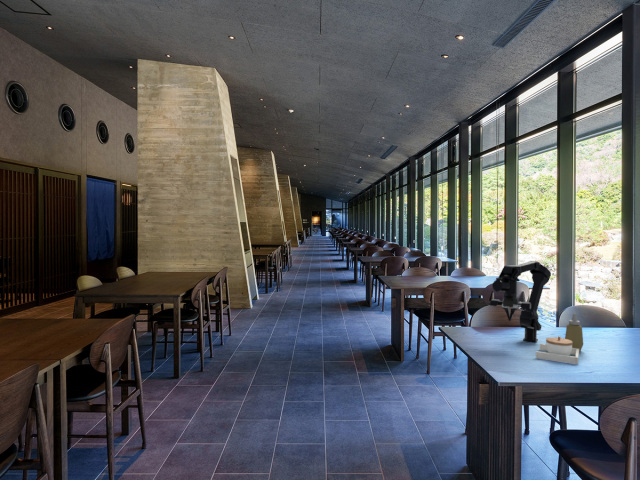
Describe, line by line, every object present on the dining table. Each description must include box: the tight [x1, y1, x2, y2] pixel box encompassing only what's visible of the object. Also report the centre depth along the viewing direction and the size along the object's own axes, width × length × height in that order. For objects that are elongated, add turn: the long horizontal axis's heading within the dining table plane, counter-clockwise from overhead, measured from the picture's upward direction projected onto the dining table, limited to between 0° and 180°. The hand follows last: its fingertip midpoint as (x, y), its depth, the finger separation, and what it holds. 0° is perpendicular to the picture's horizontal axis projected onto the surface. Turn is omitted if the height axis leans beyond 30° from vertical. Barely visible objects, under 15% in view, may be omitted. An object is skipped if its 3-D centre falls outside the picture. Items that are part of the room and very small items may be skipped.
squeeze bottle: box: [564, 312, 584, 352], centre depth 210 cm, size 8×8×18 cm
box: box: [535, 343, 580, 366], centre depth 199 cm, size 17×16×3 cm
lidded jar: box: [545, 336, 573, 356], centre depth 199 cm, size 11×11×9 cm
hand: (509, 320), depth 219 cm, fingers closed
